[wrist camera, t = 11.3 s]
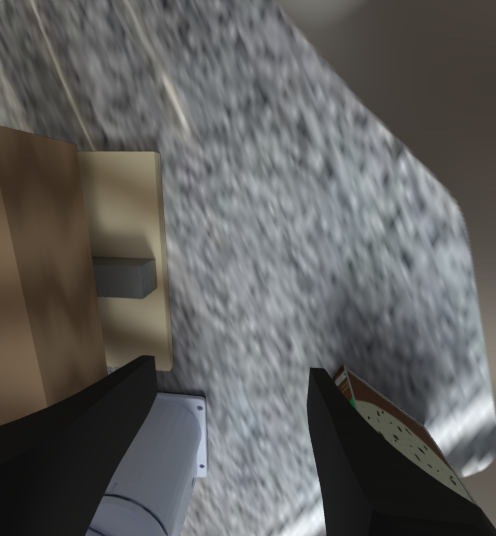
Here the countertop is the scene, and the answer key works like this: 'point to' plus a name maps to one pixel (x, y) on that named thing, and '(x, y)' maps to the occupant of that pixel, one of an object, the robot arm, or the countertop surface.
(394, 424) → the food container
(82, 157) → the balance stand
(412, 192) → the countertop surface
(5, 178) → the walnut bar
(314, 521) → the countertop surface
